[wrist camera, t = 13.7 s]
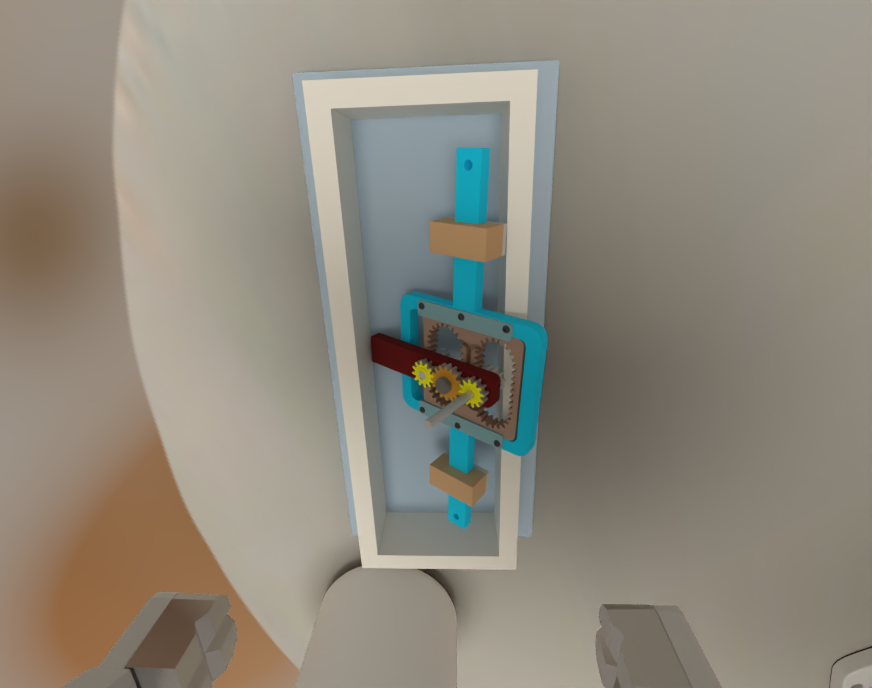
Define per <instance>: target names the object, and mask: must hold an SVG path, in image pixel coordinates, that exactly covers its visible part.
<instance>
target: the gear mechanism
mask: <svg viewBox="0 0 872 688" xmlns="http://www.w3.org/2000/svg"><path fill="white" fill-rule="evenodd" d="M489 164H490V148H457V150H456V193H455V217H449V218H443V219H438V220H433V221H430V252H431V253H436V254H442V255H447V256H453V257H454V278H453V301H451V300H447V299H443V298H439V297H435V296H431V295H427V294H424V293H420V292H412V293H410V294H407V295H404V296H403V297H402V299H401V301H400V317H401V340H399V339H396V338H393V337H390V336H387V335H385V334H382V333H377V334H375V335H373V336H371V349H372V362H375V363H377V364H379V365H382V366H384V367H387V368H389V369H392V370H394V371H397V372H399V373H402V385H403V398H404V400H405V402H406V403H407V405H408V406H410V407H411V408H413V409H416V410H418V411H419V412H420V413H422V414H424V415H426V416H428V417H429V418H428V419H426V420H425V421H424V425H425V427H426V428H427V429H431V428H433V427H434V426H435V425H437V424H438V423H439V422H441V423H444V424H446V425H448V426H450V448H449V451H446V452H444V453H443V454H442V455H441V456H439V457H438V458H437V459H436V460H435V461H433V462H432V463H431V464H430V484H432V485H433V486H435V487H437V488H439V489H440V490H442V491H444V492H446V493H447V494H448V520H449V521H451V522H452V523H454V524H456V525H457V526H459V527H461V528H462V529H465V528H466V527H467V526H468V525H469V524H470V523H471V507H473V505H474V504H475V503H476V502H477V501H478V500H479V499H480V498H481V497H482V496H483V495H484V494H485V493H486V492H487V491H488V481H489V471H487V470H485V469H483V468H481V467H479V466H477V465H475V464H474V448H475V438H476V439H479V440H481V441H483V442H485V443H487V444H489V445H492V446H494V447H496V448H498V449H503V450H505V451H508V452H510V453H512V454H514V455H517V456H525V455H526V454H528V452H529V451H530V450H531V449H532V448H533V447H534V445H535V440H536V432H537V424H538V416H539V408H540V400H541V392H542V384H543V376H544V368H545V360H546V352H547V344H548V335H547V332H546V330H545V329H544V327H543V326H542V325H540V324H539V323H536V322H533V321H529V320H525V319H521V318H518V317H514V316H510V315H506V314H502V313H498V312H494V311H490V310H486V309H482V296H483V278H484V262H487V261H490V260H493V259H496V258H499V257H501V256H504V255H505V247H506V233H507V224H506V223H498V222H490V221H487V202H488V183H489ZM418 314H419V315H420V316H423V317H424V348H422V347H419V346H418ZM442 326H444V327H448V326H449V329H450V330H451V329H453V328H454V332H453V333H454V334H456V333H458V334H459V335H458V337H457V339H461V340H463V342H464V343H462V344H460V345H462V346H463V347H462V348H460V351H462V352H463V353H462V354H460V357H462V358H463V359H461V360H457V359H454V358H455V356H454V355H453V356H451V355H450V353H451V352H450V351H448V352H446V350H445V348H444V349H442V350H440V349H439V350H436V349H437V348H438V347H439V346H438V345H436V343H438V342H439V340H437V339H436V337H438V336H439V335H438V334H437V332H439V329H438V328H440V327H442ZM493 340H494V341H495V342H496V343H497V342H499V341H500V345H504V344H506V348H505V349H506V350H508V349H511V352H510V353H509V354H510V356H515V358H513V359H512V362H515V364H514V365H513V366H512V368H514V369H515V370H514V371H512V374H513V375H514V377H512V378H511V380H512V381H513V383H512V384H511V385H510V386H511V387H512V388H513V389H511V390H510V393H512V395H511V396H510V397H509V398H510V399H511V401H510V402H509V405H511V407H509V408H508V410H509V411H510V413H509V414H508V416H509V418H508V419H506V420H505V421H504V420H503V419H501V420H500V421H499V420H498V418H495V419H493V415H491V416H488V413H489V412H488V411H484V408H485V407H486V408H490V407H492V406H493V405H494V404H495V403H496V402H498V401H499V398H500V391H501V389H502V388H503V387H505V385H504V384H503V382H504V381H506V379H505V378H502V377H501V376H502V375H503V372H500V373H499V372H498V369H499V368H498V367H496V368H494V369H493V365H492V364H490V365H489V366H487V365H485V366H482V365H483V364H484V363H485V361H483V360H482V359H483V358H485V355H484V354H482V353H483V352H485V349H484V347H485V346H486V345H487V344H486V343H487V342H491V341H493ZM422 384H423V386H424V395H423V394H421V392H420V391H419V385H422ZM443 396H445V398H444V397H443ZM449 399H450V400H449Z"/></svg>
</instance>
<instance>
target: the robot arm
mask: <svg viewBox="0 0 872 688" xmlns="http://www.w3.org/2000/svg"><path fill="white" fill-rule="evenodd" d="M230 607H231V605H230V602H229V599H228V596H227V595H209V594H193V593H171V592H158V593H157V594H155V595H154V596H152V597H151V598H150V599H149V600H148V602H147V603H146V604H145V606H144V607H143V608H142V610H141V611H140V612H139V613H138V615H137V616H136V618H135V619H134V620H133V622H132V623H131V624H130V625H129V627H128V628H127V629H126V631H125V632H124V633H123V635H122V636H121V637H120V639H119V640H118V641H117V643H116V644H115V645H114V647H113V648H112V649H111V650H110V652H109V653H108V655H107V656H106V657H105V659H104V660H103V661H102V662H101V664H100V665H99V666H98V667H96V668H95V667H93V668H90V669H88V670H86V671H85V672H84V673H82V674H81V675H79V676H78V677H76V678H75V679H74V680H72V681H71V682H70V683H68V684H66V685H65V686H63V687H62V688H214V684H213V682H214V681H215V680H216V679H217V678H218V677H219V676H220V675H221V674H223V673H224V672H225V671H226V669H227V667H228V665H229V663H230V660H231V659H232V656H233V653H234V649H235V645H236V641H237V628H236V624H235V621H234V620H233V619H232V618H231V617H230V616H229V615H228V614H227V613H228V611H229V609H230ZM599 619H600V623H601V626H602V628H601V629H599V630H598V631H597V633H596V657H597V663H598V668H599V673H600V677H601V680H602V684H603V686H604V687H605V688H722V687H721V685H720V683H719V681H718V680H717V678H716V676H715V674H714V672H713V670H712V668H711V666H710V664H709V662H708V660H707V658H706V657H705V655H704V653H703V651H702V649H701V647H700V645H699V643H698V641H697V639H696V637H695V635H694V634H693V632H692V630H691V628H690V626H689V624H688V622H687V620H686V618H685V616H684V614H683V612H682V611H681V610H680V609H679V608H678V607H677V606H655V605H652V606H650V605H631V604H602V606H601V607H600V611H599ZM830 688H872V648H870V649H867V650H864V651H861V652H858V653H855V654H852V655H849V656H847V657H845V658H843V659H841V660H839V661H838V662H836V663H835V664H834V666H833V668H832V675H831V683H830Z"/></svg>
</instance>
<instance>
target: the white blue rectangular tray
mask: <svg viewBox="0 0 872 688" xmlns="http://www.w3.org/2000/svg"><path fill="white" fill-rule="evenodd" d="M558 77H559V60H550V61H529V62H509V63H488V64H468V65H447V66H426V67H406V68H385V69H365V70H344V71H323V72H303V73H292V78H293V86H294V93H295V101H296V109H297V117H298V124H299V132H300V140H301V147H302V155H303V163H304V170H305V178H306V186H307V193H308V201H309V209H310V216H311V224H312V232H313V239H314V247H315V255H316V263H317V270H318V278H319V286H320V293H321V301H322V309H323V316H324V324H325V332H326V339H327V347H328V355H329V362H330V370H331V378H332V385H333V393H334V401H335V409H336V416H337V424H338V432H339V439H340V447H341V455H342V462H343V470H344V478H345V485H346V493H347V501H348V508H349V516H350V524H351V531H352V536H358V538H359V546H360V554H361V562H362V568H397V569H485V570H516V562H517V539H518V537H532V523H533V506H534V488H535V471H536V454H537V437H538V424H537V432H536V440H535V445H534V447H533V448H532V449H531V450H530V451H529V452H528V454H526V455H525V456H517V455H514V454H512V453H510V452H508V451H505V450H503V449H498V448H496V447H494V446H492V445H489V444H487V443H485V442H483V441H481V440H479V439H476V438H475V448H474V464H475V465H477V466H479V467H481V468H483V469H485V470H487V471H489V481H488V491H487V492H486V493H485V494H484V495H483V496H482V497H481V498H480V499H479V500H478V501H477V502H476V503H475V504H474V505H473V507H471V523H470V524H469V525H468V526H467V527H466V528H465V529H462V528H461V527H459V526H457V525H456V524H454V523H452V522H451V521H449V520H448V494H447V493H446V492H444V491H442V490H440V489H439V488H437V487H435V486H433V485H432V484H430V464H431V463H432V462H433V461H435V460H436V459H437V458H438V457H439V456H441V455H442V454H443V453H444V452H446V451H449V448H450V426H448V425H446V424H444V423H441V422H439V423H438V424H437V425H435V426H434V427H433V428H431V429H427V428H426V427H425V425H424V421H425V420H426V419H428V418H429V417H428V416H426V415H424V414H422V413H420V412H419V411H418V410H416V409H413V408H411V407H410V406H408V405H407V403H406V402H405V400H404V398H403V385H402V373H399V372H397V371H394V370H392V369H389V368H387V367H384V366H382V365H379V364H377V363H375V362H372V349H371V336H373V335H375V334H377V333H382V334H385V335H387V336H390V337H393V338H396V339H399V340H401V317H400V301H401V299H402V297H403V296H404V295H407V294H410V293H412V292H420V293H424V294H427V295H431V296H435V297H439V298H443V299H447V300H451V301H453V278H454V257H453V256H447V255H442V254H436V253H431V252H430V221H433V220H438V219H443V218H449V217H455V193H456V150H457V148H490V164H489V183H488V202H487V221H490V222H498V223H506V224H507V233H506V247H505V255H504V256H501V257H499V258H496V259H493V260H490V261H487V262H484V278H483V296H482V309H486V310H490V311H494V312H498V313H502V314H506V315H510V316H514V317H518V318H521V319H525V320H529V321H533V322H536V323H539V324H540V325H542V326H543V327H544V317H545V300H546V283H547V265H548V248H549V231H550V214H551V197H552V180H553V162H554V145H555V128H556V111H557V94H558ZM438 329H439V332H437V334H438V335H439V336H438V337H436V339H437V340H439V342H438V343H436V345H438V346H439V347H438V348H437V349H436V350H439V349H440V350H442V349H444V348H445V350H446V352H448V351H450V352H451V353H450V355H451V356H453V355H454V356H455V358H454V359H457V360H461V359H463V358H462V357H460V354H462V353H463V352H462V351H460V348H462V347H463V346H462V345H460V344H462V343H464V342H463V340H461V339H457V337H458V335H459V334H458V333H456V334H454V333H453V332H454V328H453V329H451V330H450V329H449V326H448V327H444V326H442V327H440V328H438ZM486 344H487V345H486V346H485V347H484V349H485V352H483V353H482V354H484V355H485V358H483V359H482V360H483V361H485V363H484V364H483V365H482V366H485V365H487V366H489V365H490V364H492V365H493V369H494V368H496V367H498V368H499V369H498V372H499V373H500V372H503V375H502V376H501V377H502V378H505V379H506V381H504V382H503V384H504V385H505V387H503V388H502V389H501V391H500V398H499V401H498V402H496V403H495V404H494V405H493V406H492V407H490V408H486V407H485V408H484V411H488V412H489V413H488V416H491V415H493V419H495V418H498V420H499V421H500V420H501V419H503V420H504V421H505V420H506V419H508V418H509V416H508V414H509V413H510V411H509V410H508V408H509V407H511V405H509V402H510V401H511V399H510V398H509V397H510V396H511V395H512V393H510V390H511V389H513V388H512V387H511V386H510V385H511V384H512V383H513V381H512V380H511V378H512V377H514V375H513V374H512V371H514V370H515V369H514V368H512V366H513V365H514V364H515V362H512V359H513V358H515V356H510V354H509V353H510V352H511V349H508V350H506V349H505V348H506V344H504V345H500V341H499V342H497V343H496V342H495V341H494V340H493V341H491V342H487V343H486ZM418 346H419V347H422V348H424V317H423V316H420V315H419V314H418ZM419 391H420V392H421V394H423V395H424V386H423V384H422V385H419ZM443 397H444V398H445V396H443ZM449 400H450V399H449ZM538 420H539V416H538Z"/></svg>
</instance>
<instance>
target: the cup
mask: <svg viewBox="0 0 872 688" xmlns="http://www.w3.org/2000/svg"><path fill="white" fill-rule="evenodd" d="M295 688H457V618H456V612H455V608H454V605H453V603H452V600H451V599H450V597H449V595H448V594H447V592H446V591H445V589H444V588H443V587H442V586H441V585H440V584H439V583H438V582H437V581H436V580H435V579H433V578H432V577H431V576H429V575H428V574H426V573H424V572H423V571H421V570H418V569H397V568H362V566H360V567H357V568H355V569H352V570H350V571H348V572H347V573H345V574H344V575H342V576H341V577H340V578H338V579H337V580H336V581H335V582H334V583H333V584H332V585H331V587H330V588H329V589H328V591H327V592H326V594H325V596H324V598H323V600H322V603H321V606H320V609H319V612H318V615H317V618H316V622H315V625H314V628H313V631H312V634H311V637H310V641H309V644H308V647H307V650H306V653H305V656H304V660H303V663H302V666H301V669H300V672H299V676H298V679H297V682H296V685H295Z"/></svg>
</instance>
